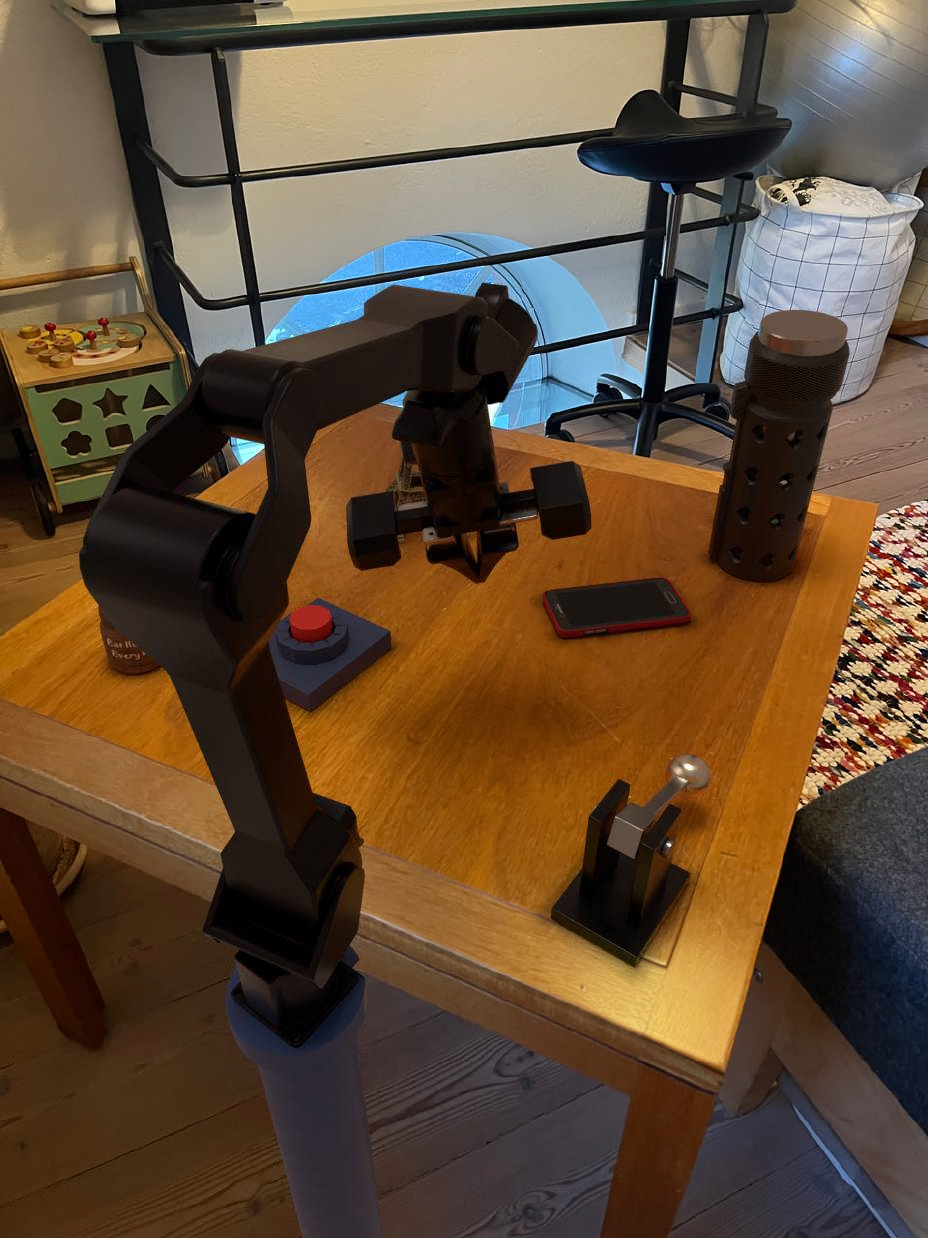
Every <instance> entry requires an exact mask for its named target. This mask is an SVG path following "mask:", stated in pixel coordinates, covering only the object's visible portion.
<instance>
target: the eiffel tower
mask: <svg viewBox="0 0 928 1238" xmlns="http://www.w3.org/2000/svg"><path fill="white" fill-rule="evenodd" d="M399 450H400V455H401V462H400V465H399V468H398V469H395V471H394V472H395V478H394V479H393V481H391V482H390V484H389V485H387V488H386V489H385V490H384V491H383V492H387V491H393V490H395V494H396V497H397V505H396V511H397V506H399V505H403V504H409V503H415V502H421V501H426V498H425V494H424V490H423V486H422V482H421V478H420V474H419V470H418V469H413V466H417V462H415V463H409V464H406V463H405V461H404V457H403V452H402V448H401V442H400V441H399ZM466 534H467V537H468V539H470V538H469V537H470V536H469V533H466ZM404 535H405V534H401V535H398V541H399V545H400V544H405V536H404Z"/></svg>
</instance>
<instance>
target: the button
mask: <svg viewBox="0 0 928 1238" xmlns="http://www.w3.org/2000/svg"><path fill="white" fill-rule="evenodd" d="M307 605H308V604H307ZM292 612H293V613H292ZM292 612H291V613H292V614H291V616H290V626H291V633H292V636H293V638H294V639H295V640H297V641H299V642H304V643H314V642H318V641H322V640H325V639H326V638H328V637H329V636H330V635H331V633H332V619H331V613H330V612H329V610H328V609H326V608H324V607H322V606H318V605H308V606H306V605H303V606H300V607H298V608H297V609H295V610H294V611H292Z"/></svg>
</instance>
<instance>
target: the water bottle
mask: <svg viewBox="0 0 928 1238" xmlns="http://www.w3.org/2000/svg"><path fill="white" fill-rule="evenodd" d="M848 333H849V328H848V325H847V323H846V322H844V321H843V320H842V319H840V318H838V317H836V316H834V315H831V314H828V313H824V312H821V311H815V310H809V309H808V310H807V309H785V310H778V311H774V312H771V313H768V314H766V315H765V316H763V317H762V318H761V320H760V322H759V327H758V330H757V331H755V333H754V334H753V336H752V337H751V338H750V340H749V344H748V350H747V356H746V362H745V367H744V374H743V378H744V380H742V381H739V382H736V383H734V385H733V390H732V396H731V401H730V402H731V403H730V407H729V415H730V417H731V418H732V419H734V420H735V426H734V430H733V431H734V432H733V436H732V437H733V438H732V443H731V449H730V455H729V460H728V461H727V462H725V463H724V464H723V465H722V470H723V473H724V474H723V479H722V484H720V485H719V489H718V494H717V500H716V505H715V506H716V507H715V512H714V517H713V523H712V529H711V534H710V541H709V547H708V551H707V552H708V555H709V558H710V559H712V560H713V561H715V562H717V564H718V565H719V566H720V567H721V568H722V569H723V570H724V571H726V572H727V573H728V574H731V575H732V576H735V577H738V578H740V579H743V580H748V581H754V582H770V581H776V580H779V579H783V578H784V577H786V576H788V575H789V574H790V573H791V572H792V571H793V569H794V567H795V564H796V560H797V556H798V551H799V547H800V543H801V540H802V535H803V532H804V528H805V523H806V519H807V515H808V510H809V506H810V503H811V498H812V495H813V491H814V487H815V484H816V483H815V482H816V480H817V479H816V478H817V475H818V470H819V467H820V463H821V458H822V455H823V450H824V447H825V443H826V438H827V434H828V430H829V426H830V422H831V418H832V414H833V410H834V407H833V406H834V405H833V402H832V399H833V398H835V397H836V396H837V394H838V392H840V390H841V389H842V386H843V382H844V380H845V379H844V378H845V375H846V370H847V366H848V363H849V358H850V351H851V350H850V346H849V343H848V341H847V336H848ZM784 481H785V482H786V483H782V482H784ZM774 519H777V520H779V522H778V523H775V524H774V523H772V522H771V521H772V520H774ZM802 531H803V532H802ZM737 548H740V550H741V552H740V553H739V552H738V550H737ZM769 554H770V555H769ZM767 555H769V560H768V561H764V560H763V558H764V557H766V556H767Z"/></svg>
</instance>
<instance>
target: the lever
mask: <svg viewBox="0 0 928 1238" xmlns="http://www.w3.org/2000/svg"><path fill="white" fill-rule="evenodd" d="M712 775H713V774H712V770H711V767H710V766H709V764H708V762H707V761H706V760H705V759H704V758H703V757H701V756H699V755H697V754H694V753H690V752H689V753H688V752H687V753H681V754H678V755H676V756H675V757H673V758H672V759H671V760H670V761H669V762H668V764H667V766H666V769H665V782H666V784H665V786H663V788H661V789H660V790H659V791H658V792H657V793H656V794H655V795H653V796H652V797H651V798H650V800H648V801H647V802H646V803H645V804H644V805H643V806H640V805H639V804H637V803H635V802H632V801H630V802H628V804H627V806H626V807H625V808H624V809H623V810H621V811H620V812H619V813H618V814H617V815H616V816H615V817H614V821H613V824H612V828H611V831H610V834H609V838H608V841H607V845H608V846H610V847H612V848H614V849H616V850H618V851H620V852H621V853H623V854H625V855H627V856H629V857H631V858H633V859H635V858H636V857H637V856H638V855H639V851H640V845H641V842H642V841H643V840H644V838H645V837H646V835H647V834H648V833H649V831H650V830H651V828H652V827H653V826H654V824H655V823H656V821H657V820H658V819H659V817H660V816H661V814H662V813H663V812H664V810H665V809H666V807H667V806H668V805H669V804H672V805H674V803H676V801H677V800H678V799H680V798H681V799H685V800H693V799H697V798H700V797H702V796H704V794H706V793H707V792H708V790H709V788H710V786H711V785H712V779H713V778H712V777H713V776H712Z"/></svg>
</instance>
